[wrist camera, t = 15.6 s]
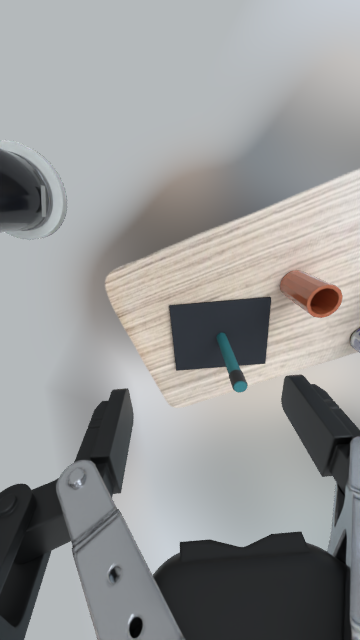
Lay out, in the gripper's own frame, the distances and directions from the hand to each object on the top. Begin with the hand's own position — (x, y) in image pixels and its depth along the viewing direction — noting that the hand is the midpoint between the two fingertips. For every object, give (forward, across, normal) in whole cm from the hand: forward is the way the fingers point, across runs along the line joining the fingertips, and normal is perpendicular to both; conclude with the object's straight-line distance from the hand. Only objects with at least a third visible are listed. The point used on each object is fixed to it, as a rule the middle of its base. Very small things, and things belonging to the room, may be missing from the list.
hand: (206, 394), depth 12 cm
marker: (+22, -7, +13) cm, 26 cm away
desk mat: (+29, -7, +13) cm, 33 cm away
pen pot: (+29, -19, +4) cm, 35 cm away
